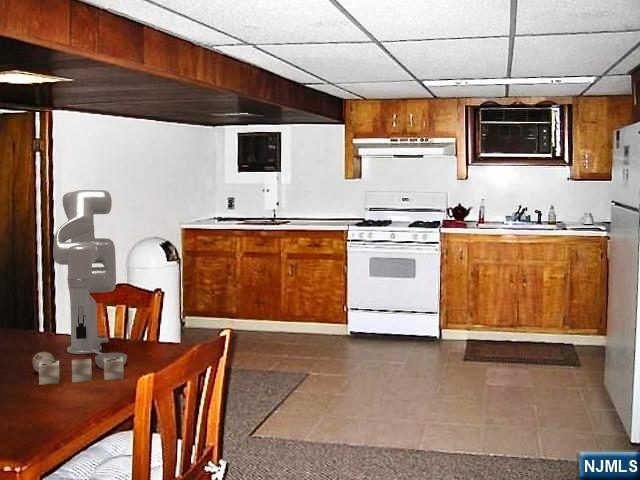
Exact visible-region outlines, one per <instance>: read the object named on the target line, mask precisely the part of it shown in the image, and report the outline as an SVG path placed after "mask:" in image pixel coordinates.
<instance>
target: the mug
mask: <svg viewBox="0 0 640 480" xmlns="http://www.w3.org/2000/svg"><path fill="white" fill-rule="evenodd" d="M31 361H32V362H31V363H32V364H31V365H32V368H33V369H34V370H35V371H36V372H37V373H39V363H40V362H46V361H56V359H55V357H54V356H53V354H52V353H50V352H49V351H41V352H37V353H36V354H35V355H34V356H33V358H32V360H31ZM59 374H60V375H61V372H60V371H59Z"/></svg>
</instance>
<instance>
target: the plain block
mask: <svg viewBox="0 0 640 480" xmlns="http://www.w3.org/2000/svg"><path fill="white" fill-rule="evenodd" d="M92 371H93V370H92V358H83V359H82V358H80V359H72V360H71V382H72V383H84V382H86V383H87V382H92V380H93V379H92V378H93V377H92Z"/></svg>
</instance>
